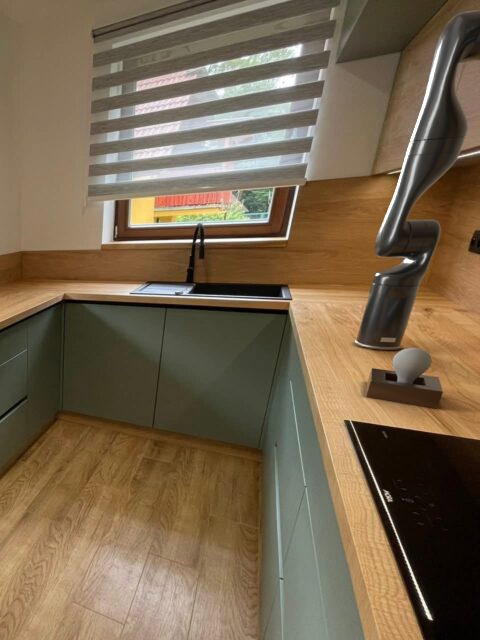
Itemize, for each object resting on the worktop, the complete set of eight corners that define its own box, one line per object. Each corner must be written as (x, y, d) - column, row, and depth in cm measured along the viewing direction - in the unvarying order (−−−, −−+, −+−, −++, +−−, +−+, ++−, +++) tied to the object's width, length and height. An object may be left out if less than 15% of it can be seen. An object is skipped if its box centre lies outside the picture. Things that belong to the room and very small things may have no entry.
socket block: (367, 382, 95) (371, 367, 94) (432, 392, 88) (438, 376, 87) (365, 396, 88) (370, 380, 87) (436, 408, 82) (443, 391, 80)
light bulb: (409, 391, 90) (425, 345, 86) (425, 401, 85) (443, 353, 81) (377, 389, 91) (391, 344, 88) (391, 398, 87) (406, 351, 83)
